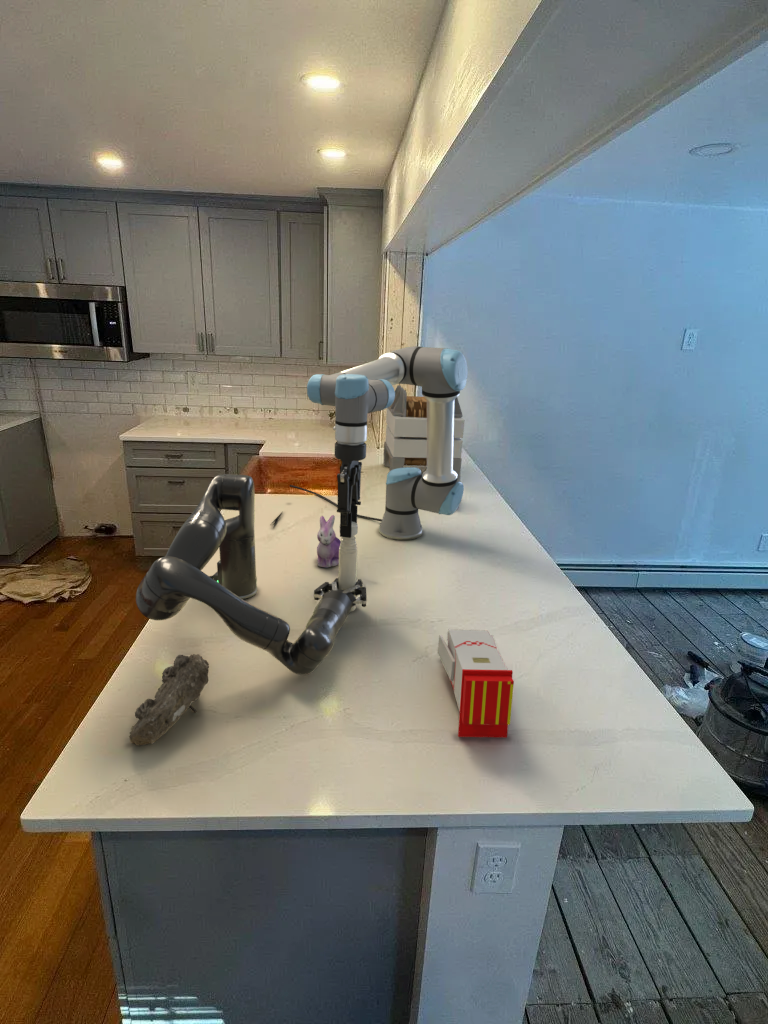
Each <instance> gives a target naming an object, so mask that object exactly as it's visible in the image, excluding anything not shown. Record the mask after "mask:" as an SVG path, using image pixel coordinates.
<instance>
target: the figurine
mask: <svg viewBox="0 0 768 1024" xmlns="http://www.w3.org/2000/svg"><path fill="white" fill-rule="evenodd" d="M335 518H336V515H334V514H332V515H331V516H330V517H329V518H328V520H326V518H325V516H324V515H321V516H320V517H319V530H318V532H317V536H316V538H317V541H318V544H317V547H316V555H317V559H316V562H317V566H318V567H320V568H321V567H322V568H331V567H337V566H339V546H340V543H341V539H339V538H338V537H337V536H336V532H335V530H334V524H335Z"/></svg>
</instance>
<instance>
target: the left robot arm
mask: <svg viewBox="0 0 768 1024" xmlns="http://www.w3.org/2000/svg"><path fill="white" fill-rule="evenodd" d="M255 487H256V485H255V481H254V479H253V477H252V476H251V475H247V474H236V473H235V474H231V473H220V474H217V475H214V477H212V479H211V481H210V482H209V484H208V486H207V488H206V490H205V492H204V494H203V496H202V498H201V499H200V501H199V502H198V504H197V505H196V507H195V508H194V510H193V511H192V512H191V513H190V515H189V516H188V517H187V519H186V520H185V521H184V522H183V524H182V525H181V527H180V528H179V530H178V531H177V533H176V535H175V536H174V538H173V540H172V542H171V543H170V546H169V547H168V550H167V551H166V554H165V556H161V557H159V558H157V559H155V561H154V562H153V563H152V564H151V565H150V567H149V569H147V572H146V573H145V575H144V576H143V578H142V579H141V581H140V583H139V584H138V586H137V588H136V592H135V604H136V606H137V610H138V611H139V612H140V613H141V614H142V615H143V616H144V617H145V618H147V619H149V620H152V621H167V620H169V619H171V618H173V617H175V616H176V615H177V614H179V613H181V611H182V610H183V608H184V607H185V606H186V604H187V603H188V602H189V600H190V599H192V600H194V601H195V600H196V601H198V602H201V603H203V604H204V605H206V606H208V607H209V608H211V610H213V611H214V612H215V613H216V614H217V615H218V616H219V618H220V619H221V620H222V621H223V623H224V624H225V625H226V627H227V628H228V629H229V630H230V632H232V633H233V635H234V636H235V637H237V638H238V639H240V640H241V641H243V642H246V644H249V645H251V646H254V647H256V648H257V649H261V650H262V651H265V652H267V653H269V654H270V655H271V656H272V657H273V658H274V659H275V660H277V661H278V662H280V664H282V665H283V666H284V667H285V668H287V669H288V670H289V671H290V672H292V673H294V674H296V675H301V676H305V675H309V674H311V673H313V672H314V671H315V670H316V669H317V668H318V667H319V666H320V664H321V663H322V662H323V661H324V660H325V659H326V658H327V657H328V655H329V654H330V652H332V650H333V647H334V645H335V640H336V636H337V635H338V633H339V631H340V629H341V628H342V627H343V626H344V624H345V623H346V620H347V619H348V617H349V614H350V613H351V612H352V611H351V608H352V607H353V606H355V605H356V606H357V605H361V607H362V608H366V607H367V599H368V597H367V595H368V594H367V587H366V586H363V585H364V584H363V581H362V579H361V578H357V580H356V584H355V586H354V587H350V588H349V589H347V590H341V589H338V577H336V578H334V580H333V581H331V583H330V582H328V581H325V582H323V583H322V584H321V585H319V586H318V587H316V588H315V589H313V600H314V601H319V602H318V604H317V605H316V606H315V608H314V610H313V612H312V615H311V616H310V618H309V619H308V621H307V623H306V625H305V627H304V629H303V631H302V632H301V634H300V635H299V636H298V637H297V638H296V640H295V641H294V642H291V641H289V640H288V639H289V636H290V631H291V626H290V624H289V622H287V621H286V620H284V619H282V618H280V617H278V616H277V615H274V614H273V613H270V612H268V611H266V610H264V609H261V608H259V607H257V606H255V605H254V604H251V603H250V602H248V601H247V600H246V599H250V598H251V597H253V596H256V594H257V593H258V586H257V585H258V583H257V581H258V577H257V564H256V563H257V561H256V540H255V534H256V533H255V521H256V520H255V518H256V517H255V500H256V497H255V496H256V488H255ZM221 511H238V515H236V516H233V517H230V518H227V519H225V518H224V516H223V514H222V512H221ZM217 551H219V560H218V561H217V562H216V569H217V570H216V572H215V573H214V574H213V575H208V574H206V573H205V572H204V571H202V570H203V569H204V568H205V567H206V565H207V564H208V563H209V562H210V561H211V560H212V558H213V557H214V556H215V554H216V553H217ZM350 611H351V612H350Z"/></svg>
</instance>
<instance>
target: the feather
mask: <svg viewBox="0 0 768 1024" xmlns="http://www.w3.org/2000/svg"><path fill="white" fill-rule="evenodd" d="M282 514H283V512H280V514H279V515H278V516H277V517H275V519H274V520H273V521H272V522H271V524H270V526H272V525H273V529H274V528H275V526H276V524H277V523H278V521H279V520H280V518H281V516H282Z"/></svg>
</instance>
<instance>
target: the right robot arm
mask: <svg viewBox="0 0 768 1024" xmlns="http://www.w3.org/2000/svg"><path fill="white" fill-rule="evenodd" d="M468 372H469V369H468V363H467V359H466V357H465V355H464V354H463V352H462V351H460V350H458V349H451V348H448V347H431V346H430V347H428V346H416V345H415V346H414V345H413V346H407V347H402V348H399V349H394V350H392V351H388V352H384V353H383V354H381V355H380V356H379V357H378V359H375V360H371V361H369V362H366V363H363V364H361V365H357V366H353V367H352V368H347V369H345V370H342V371H338V372H336V373H331V374H324V373H322V374H320V373H319V374H318V373H316V374H312V376H311V377H310V378H308V381H307V385H306V391H307V392H306V394H307V397H308V399H309V400H310V402H312V403H314V404H319V405H321V406H330V407H334V410H335V418H334V426H333V427H332V430H333V431H335V432H334V441H335V443H334V457H335V459H336V460H340V461H341V465H340V466H339V473H337V475H336V479H337V503H336V502H334V501H332V500H331V499H329V498H327V497H325V496H324V495H321V494H319V493H317V492H315V491H312V490H309V489H306V488H304V487H300V486H298V485H297V486H296V485H292V484H290V485H289V487H290V488H293V489H296V490H300V491H304V492H307V493H310V494H312V495H315V496H317V497H320V498H322V499H324V500H325V501H327V502H329V503H330V504H332V505H334V506H336V507H337V509H336V513H339V514H340V515H339V516H340V517H339V519H340V520H339V537H340V538H341V537H347V538H351V530H352V522H356V523H357V524H358V518H360V519H367V520H372V521H377V522H379V526H378V533H379V534H380V535H381V536H382V537H385V538H387V539H389V540H395V541H410V540H415V539H418V538H420V537H421V536H422V535H423V525H422V524H421V518H420V515H419V510H421V511H426V512H429V513H435V514H438V515H445V516H452V515H453V514H454V513H456V511H457V510H458V508H459V506H460V504H461V502H462V499H463V496H464V490H465V489H464V488H465V487H464V483H463V482H461V480H460V481H459V482H458V481H457V473H456V472H455V471H454V470H453V447H454V406H455V399H456V398H458V397H459V396H460V394H461V391H462V390H464V389H465V387H466V385H467V380H468V377H469V375H468V374H469V373H468ZM395 385H410V386H416V387H421V396H422V397H425V398H426V399H427V466H426V470H424V471H423V472H422V470H421V468H419V467H414V466H411V467H409V466H406V467H405V466H404V468H397V469H393V470H391V471H390V470H389V471H388V473H387V475H386V480H385V504H384V505H385V507H384V508H385V509H384V513H383V515H382V518H376V517H371V516H367V515H362V514H358V506H361V505H362V501H360V500H361V483H362V482H361V481H362V467H363V466H362V465H363V463H362V461H363V460H365V459H366V457H367V444H366V442H367V440H368V414H371V413H377V412H381V411H384V410H385V409H386V410H387V408H388V407H389V406H391V405H392V403H393V401H394V398H395V388H394V386H395Z"/></svg>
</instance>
